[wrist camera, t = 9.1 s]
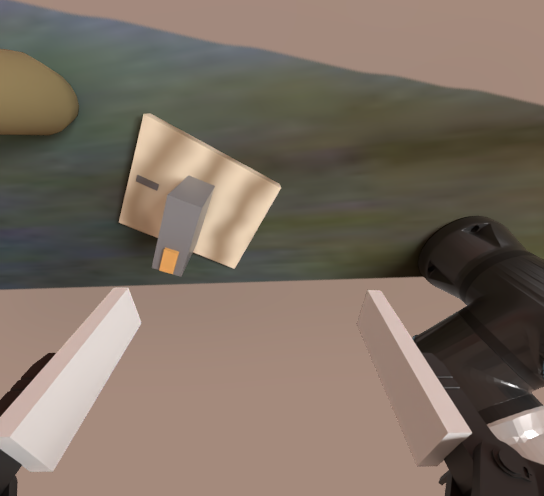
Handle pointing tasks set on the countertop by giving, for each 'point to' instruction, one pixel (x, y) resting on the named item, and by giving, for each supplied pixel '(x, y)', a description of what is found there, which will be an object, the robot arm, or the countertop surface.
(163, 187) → the base
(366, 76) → the countertop surface
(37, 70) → the squeeze bottle
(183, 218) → the grey block
